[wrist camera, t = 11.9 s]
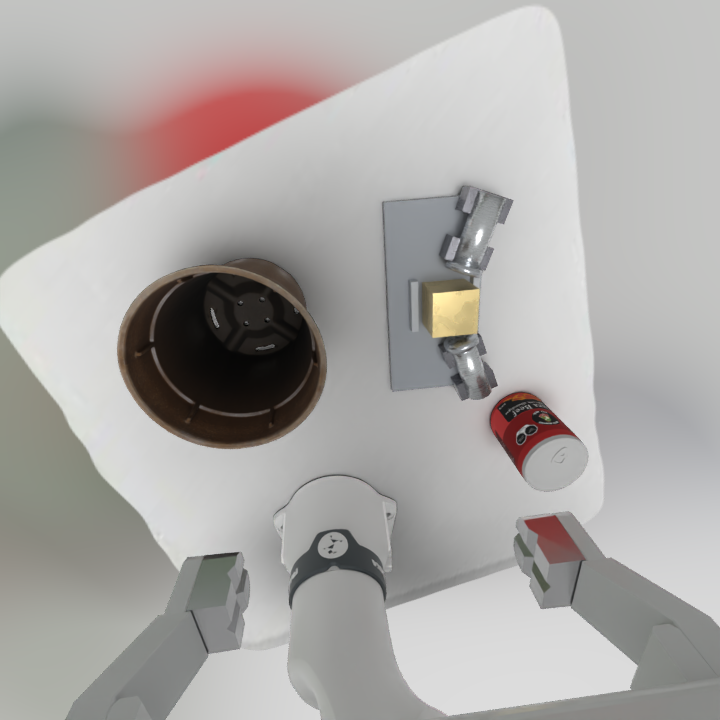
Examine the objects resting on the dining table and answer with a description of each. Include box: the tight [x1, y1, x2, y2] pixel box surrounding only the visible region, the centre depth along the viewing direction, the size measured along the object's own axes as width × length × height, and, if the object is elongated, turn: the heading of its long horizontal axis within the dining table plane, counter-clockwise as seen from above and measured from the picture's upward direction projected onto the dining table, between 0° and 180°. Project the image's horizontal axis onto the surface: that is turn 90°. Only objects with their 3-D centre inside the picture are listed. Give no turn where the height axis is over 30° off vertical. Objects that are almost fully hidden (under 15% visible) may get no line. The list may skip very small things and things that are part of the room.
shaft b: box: [439, 186, 513, 278], centre depth 41 cm, size 8×5×4 cm, turn 164°
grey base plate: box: [383, 196, 481, 392], centre depth 46 cm, size 23×11×2 cm, turn 4°
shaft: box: [438, 333, 498, 401], centre depth 48 cm, size 8×5×4 cm, turn 24°
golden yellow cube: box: [422, 279, 480, 338], centre depth 44 cm, size 5×5×5 cm
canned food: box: [491, 393, 588, 492], centre depth 50 cm, size 8×8×11 cm
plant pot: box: [117, 258, 327, 449], centre depth 39 cm, size 16×16×16 cm
